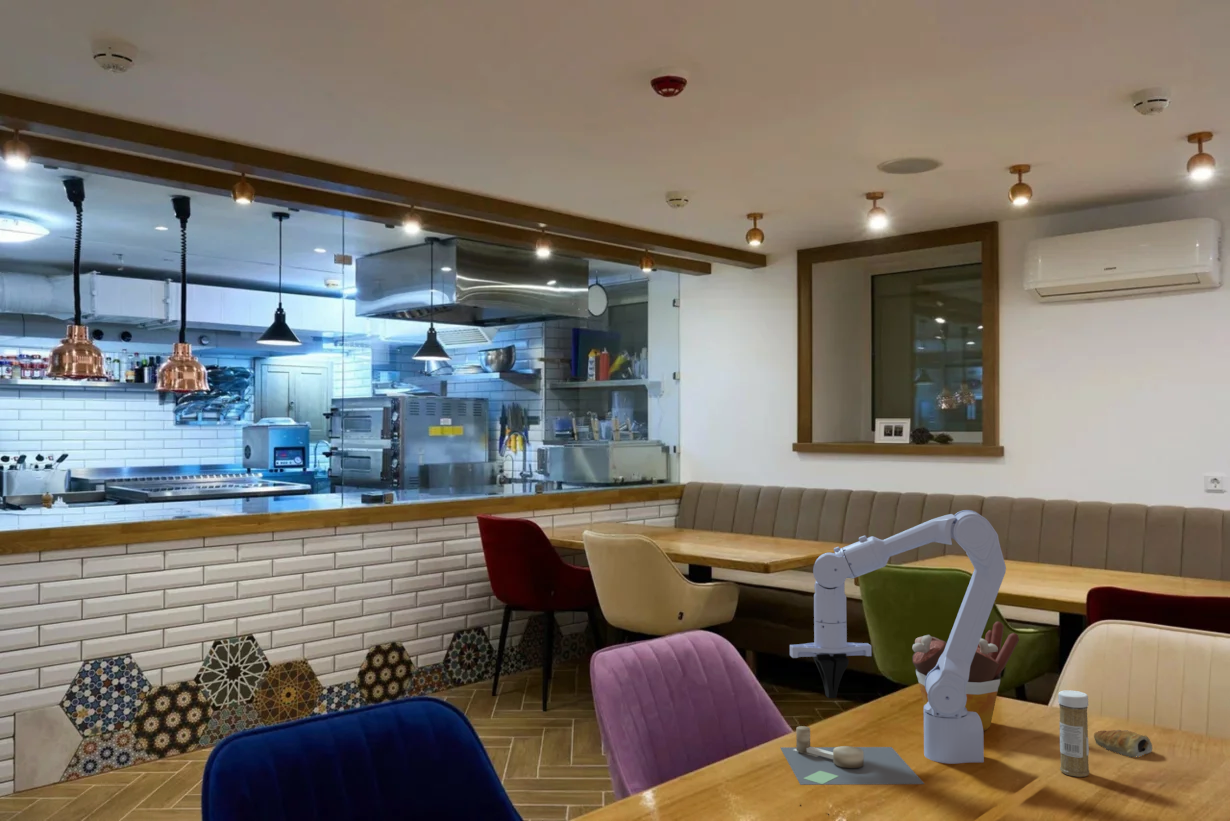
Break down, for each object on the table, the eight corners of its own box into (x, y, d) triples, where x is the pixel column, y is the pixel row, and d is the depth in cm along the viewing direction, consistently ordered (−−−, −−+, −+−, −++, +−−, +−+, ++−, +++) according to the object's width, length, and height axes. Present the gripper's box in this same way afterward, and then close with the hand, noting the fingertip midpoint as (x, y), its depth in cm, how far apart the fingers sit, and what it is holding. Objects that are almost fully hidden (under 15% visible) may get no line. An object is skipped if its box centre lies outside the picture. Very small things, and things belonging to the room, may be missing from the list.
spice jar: (1094, 774, 159) (1093, 693, 160) (1079, 779, 157) (1078, 698, 157) (1069, 766, 163) (1067, 687, 164) (1053, 771, 161) (1052, 691, 161)
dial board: (891, 753, 170) (891, 746, 170) (924, 791, 152) (924, 783, 152) (780, 754, 170) (780, 747, 170) (800, 792, 152) (800, 784, 152)
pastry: (1085, 745, 175) (1085, 724, 175) (1107, 739, 178) (1107, 719, 178) (1134, 760, 167) (1134, 738, 167) (1157, 754, 170) (1156, 733, 170)
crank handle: (869, 762, 161) (868, 739, 161) (853, 770, 157) (853, 746, 157) (805, 745, 170) (805, 723, 170) (789, 752, 166) (789, 729, 166)
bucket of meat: (935, 740, 177) (934, 633, 178) (895, 714, 193) (894, 617, 194) (1033, 734, 180) (1031, 630, 181) (985, 710, 197) (984, 614, 197)
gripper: (861, 615, 175) (862, 689, 175) (784, 617, 174) (785, 691, 173) (875, 623, 168) (876, 700, 168) (795, 624, 167) (796, 702, 166)
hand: (830, 696), depth 170 cm, fingers closed
